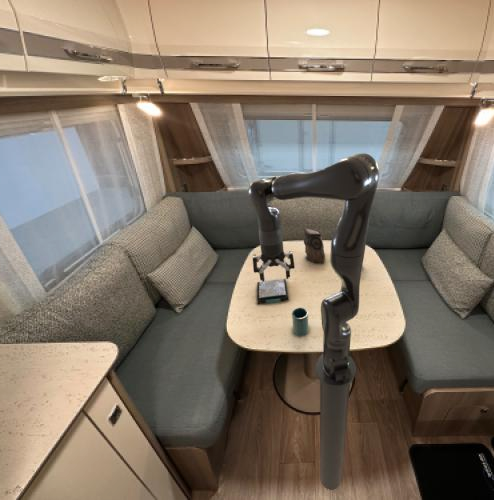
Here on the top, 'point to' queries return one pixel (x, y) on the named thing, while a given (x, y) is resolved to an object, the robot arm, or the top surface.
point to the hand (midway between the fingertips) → (275, 279)
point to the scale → (272, 291)
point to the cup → (300, 321)
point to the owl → (314, 246)
